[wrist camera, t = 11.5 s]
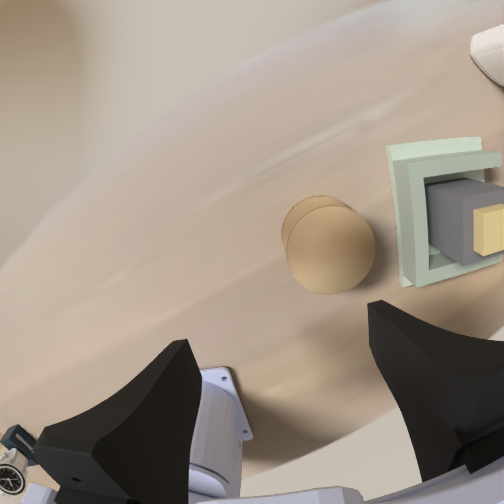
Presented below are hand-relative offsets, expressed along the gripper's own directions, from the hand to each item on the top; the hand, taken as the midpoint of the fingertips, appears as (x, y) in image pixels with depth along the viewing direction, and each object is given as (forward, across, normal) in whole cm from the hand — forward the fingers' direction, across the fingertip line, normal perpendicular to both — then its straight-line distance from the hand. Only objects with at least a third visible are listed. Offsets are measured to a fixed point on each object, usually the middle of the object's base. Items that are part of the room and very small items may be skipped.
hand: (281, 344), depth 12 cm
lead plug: (+9, -13, -1) cm, 16 cm away
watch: (+10, +39, +20) cm, 45 cm away
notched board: (+10, -13, -1) cm, 16 cm away
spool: (+10, -4, -1) cm, 11 cm away
